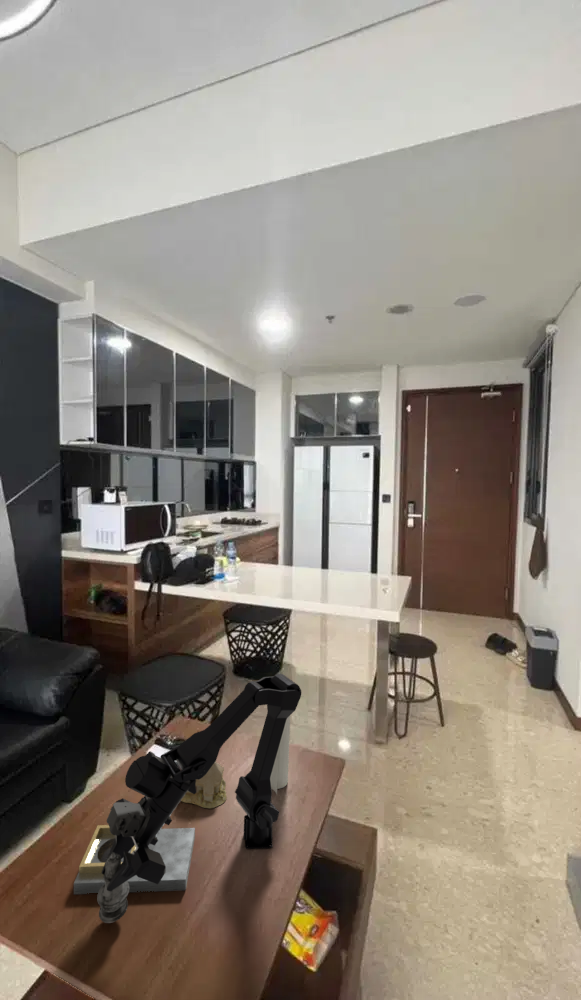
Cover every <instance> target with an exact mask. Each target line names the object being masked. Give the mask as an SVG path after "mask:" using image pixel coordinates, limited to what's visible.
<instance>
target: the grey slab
mask: <svg viewBox="0 0 581 1000" xmlns="http://www.w3.org/2000/svg"><path fill="white" fill-rule="evenodd" d="M195 831H196V828H195V827H181V828H180V827H177V828H161V830H160V831H159V833H158V834H157V835H156V837H157V839H158V842H157V843H156V845H155V846H154V845H152V844H149V845H148V847H149V849H151V850H153V851H156V852H158V853H160V855H161V857H162V859H163V862H164V864H165V866H166V873H165V874H164V876H163V877H162V879H161V880H160V882H159V883H158V884H156V883H153V882H150V881H148V880H145V879H142V878H139V877H138V876H137V875H135V876H134V877H132V878H130V879H129V880H127V882H128V883H129V893H146V892H147V891H148V892H147V893H149V892H150V891H152V892H153V891H154V892H174V891H176V892H177V891H178V892H179V891H186V890H187V885H188V880H189V879H188V878H189V872H190V868H191V862H192V856H193V850H194V845H195V838H196V832H195ZM114 839H115V835H113V834H111V832H110V827H109V825H108V824H100V825H99V824H97V826H96V829H95V830H94V833H93V835H92V837H91V839H90V841H89V844H88V846H87V848H86V851H85V852H84V855H83V857H82V860H81V862H80V864H79V867H78V873H77V875H76V877H75V880H74V882H73V895H90V894H89V893H98V892H99V890H100V889H101V887H102V886H103V885H104V884H105V881H104V879H103V876H104V874H102V870H103V867H104V865H105V862H106V859H107V857H108V855H109V852H110V850H111V847H112V845H113V842H114ZM135 849H136V846H135V845H134V847H133V848H132V849H131V850H130V851H129V853H132V852H133V851H135ZM123 858H124V857H123ZM123 858H122V859H121V864H122V862H123ZM137 891H138V892H137ZM140 891H141V892H140ZM143 891H144V892H143ZM145 891H146V892H145ZM152 892H151V893H152ZM87 893H88V894H87Z"/></svg>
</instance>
